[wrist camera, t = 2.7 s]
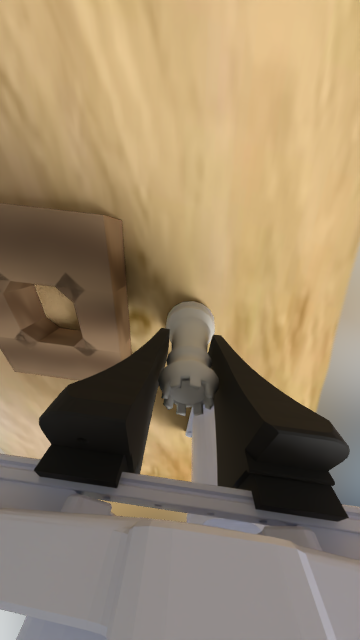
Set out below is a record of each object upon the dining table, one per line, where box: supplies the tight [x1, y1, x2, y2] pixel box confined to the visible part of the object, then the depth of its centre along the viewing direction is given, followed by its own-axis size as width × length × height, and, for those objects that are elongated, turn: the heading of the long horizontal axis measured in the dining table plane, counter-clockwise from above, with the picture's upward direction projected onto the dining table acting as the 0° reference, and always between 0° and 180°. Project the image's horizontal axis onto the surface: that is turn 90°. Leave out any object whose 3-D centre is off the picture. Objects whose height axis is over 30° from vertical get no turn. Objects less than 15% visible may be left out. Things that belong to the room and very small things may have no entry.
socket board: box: [0, 203, 132, 381], centre depth 13 cm, size 15×12×2 cm
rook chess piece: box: [158, 301, 219, 416], centre depth 10 cm, size 4×4×8 cm
